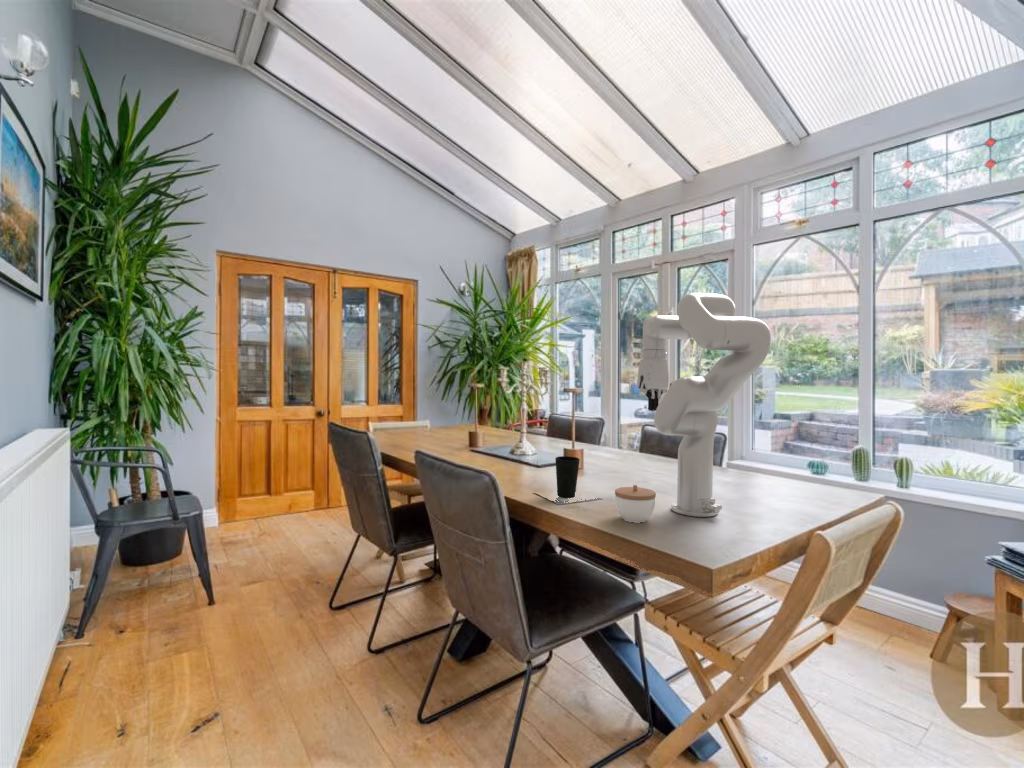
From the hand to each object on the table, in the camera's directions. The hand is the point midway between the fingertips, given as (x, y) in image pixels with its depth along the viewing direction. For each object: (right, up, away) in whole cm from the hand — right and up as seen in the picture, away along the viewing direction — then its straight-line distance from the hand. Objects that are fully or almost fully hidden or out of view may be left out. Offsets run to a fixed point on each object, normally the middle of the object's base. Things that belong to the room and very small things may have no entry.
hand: (653, 410), depth 168 cm
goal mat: (-30, -27, -7) cm, 41 cm away
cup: (-30, -27, -8) cm, 41 cm away
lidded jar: (-14, -28, -32) cm, 45 cm away
